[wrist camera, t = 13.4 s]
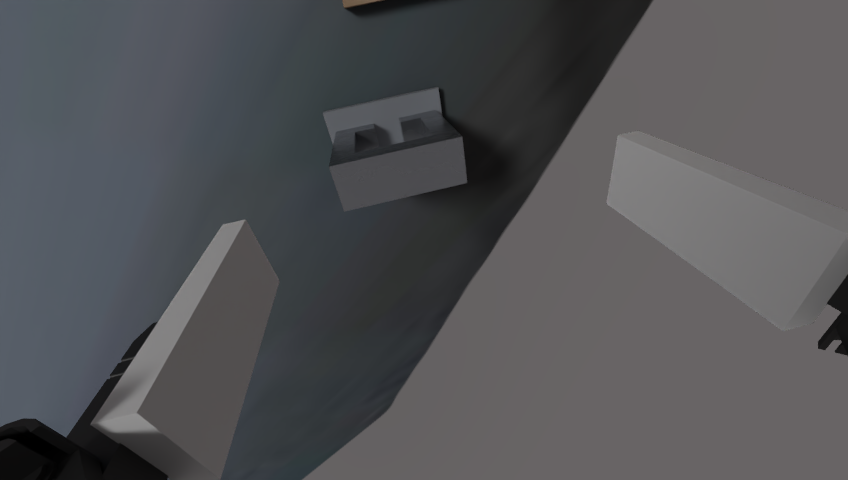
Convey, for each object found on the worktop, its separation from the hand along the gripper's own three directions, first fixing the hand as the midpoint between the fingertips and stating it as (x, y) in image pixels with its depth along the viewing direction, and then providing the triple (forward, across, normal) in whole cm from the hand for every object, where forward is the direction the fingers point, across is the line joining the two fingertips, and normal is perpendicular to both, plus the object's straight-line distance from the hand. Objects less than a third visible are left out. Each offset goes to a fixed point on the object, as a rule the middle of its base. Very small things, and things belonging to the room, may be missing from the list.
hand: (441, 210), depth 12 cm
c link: (+17, -1, -2) cm, 17 cm away
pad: (+17, -1, -2) cm, 17 cm away
